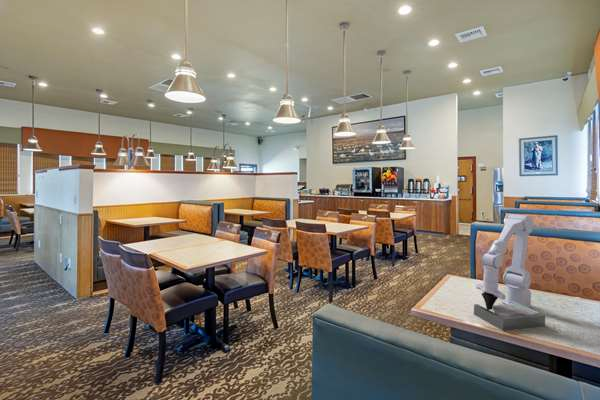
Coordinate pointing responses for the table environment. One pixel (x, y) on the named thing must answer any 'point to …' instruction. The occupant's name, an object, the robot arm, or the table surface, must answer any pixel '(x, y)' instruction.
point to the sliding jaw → (523, 308)
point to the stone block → (507, 310)
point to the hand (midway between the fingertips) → (489, 309)
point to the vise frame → (509, 319)
